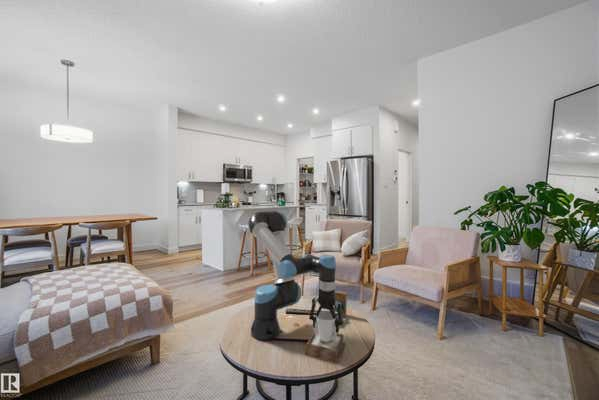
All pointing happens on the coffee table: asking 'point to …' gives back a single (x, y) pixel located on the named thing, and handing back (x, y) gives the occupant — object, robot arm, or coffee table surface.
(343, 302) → the figurine
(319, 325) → the cup
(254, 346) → the coffee table surface
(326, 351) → the brown box
